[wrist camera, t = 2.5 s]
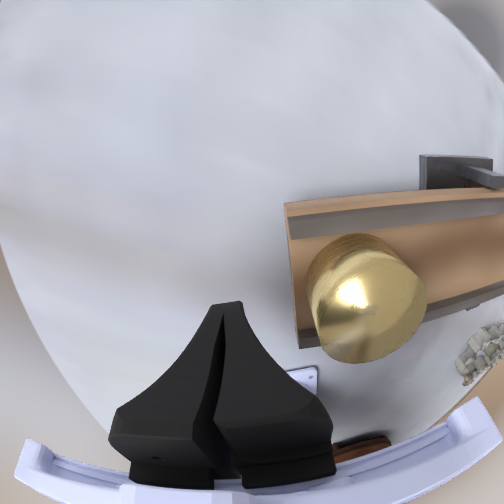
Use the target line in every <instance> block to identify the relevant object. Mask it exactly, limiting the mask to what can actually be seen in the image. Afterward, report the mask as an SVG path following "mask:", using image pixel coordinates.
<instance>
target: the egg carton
mask: <svg viewBox="0 0 504 504" xmlns="http://www.w3.org/2000/svg"><path fill="white" fill-rule="evenodd" d="M468 344H469V347H468V349H467V350H466V351H465V352H464V353H463V354H462V355H461V356H459V357H458V358H457V359H456V361H455V363H456V368H457V369H458V371H459V373H460V375H461V376H463V377H464V381H463V383H462V385H463V386H466V385H467V386H468V385H469V384H471V383H472V382H473V381H474V378H476V377H478V375H479V374H482V373H483V372H484V371H485V370H487V369H488V367H489V366H491V367H494V366H496V364H497V363H496V362H497V360H498V359H499V358H500V359H503V356H504V323H502V325H501V326H500V327H499V328H497V327H496V325H493V326H492V327H491V328H490V329H489V330H488V331H487V330H486V329H485V328H484V327H482V328H480V329H479V330H478V332H477V333H476V334H475V335H473V336H472V337H471V338H470V339H469V341H468ZM479 350H483V351H484V352H485V354H486V355H485V356H484V358H483V357H482V356H481V355H479V356H477V352H478V351H479Z"/></svg>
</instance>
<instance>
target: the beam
mask: <svg viewBox="0 0 504 504" xmlns="http://www.w3.org/2000/svg"><path fill="white" fill-rule="evenodd" d="M284 212H285V221H286V230H287V240H288V249H289V260H290V270H291V281H292V293H293V305H294V318H295V331H296V337H297V342H298V345H299V349H304V348H310V347H316V346H321V343H320V340H319V336H318V333H317V329H316V325H315V322H314V318H313V315H312V311H311V308H310V304H309V301H308V297H307V294H306V289H305V280H306V274H307V271H308V268H309V266H310V264H311V262H312V261H313V259H314V258H315V256H316V255H317V254H318V253H319V252H320V251H321V250H322V249H323V248H324V247H325V246H326V245H328V244H329V243H331V242H332V241H334V240H336V239H338V238H340V237H343V236H346V235H350V234H357V233H363V234H370V235H373V236H376V237H378V238H379V239H381V240H383V241H384V242H385V243H386V244H387V245H388V246H389V247H390V248H391V249H392V250H393V251H394V252H395V253H396V254H397V255H398V256H399V257H400V258H401V259H402V260H403V261H404V263H405V264H406V265H407V266H408V267H409V268H410V269H411V270H412V271H413V272H414V273H415V274H416V275H417V277H418V278H419V279H420V280H421V281H422V283H423V284H424V286H425V289H426V292H427V308H426V312H425V315H424V317H423V320H422V322H421V323H423V322H427V321H430V320H433V319H436V318H440V317H443V316H446V315H449V314H452V313H455V312H458V311H461V310H464V309H467V308H469V307H472V306H475V305H478V304H480V303H483V302H486V301H488V300H491V299H493V298H496V297H498V296H500V295H503V294H504V188H495V189H493V188H490V187H489V188H454V189H432V190H415V191H400V192H387V193H374V194H363V195H352V196H342V197H332V198H323V199H314V200H305V201H297V202H289V203H284Z"/></svg>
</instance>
